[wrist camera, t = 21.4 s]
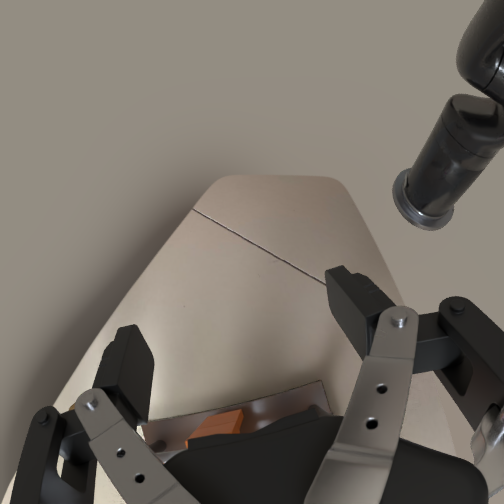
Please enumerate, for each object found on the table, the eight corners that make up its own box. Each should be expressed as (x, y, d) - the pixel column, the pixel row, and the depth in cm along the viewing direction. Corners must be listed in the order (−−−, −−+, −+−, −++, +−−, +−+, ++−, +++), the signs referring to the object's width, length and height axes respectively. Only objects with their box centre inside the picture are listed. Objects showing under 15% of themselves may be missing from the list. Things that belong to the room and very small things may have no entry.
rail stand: (319, 379, 37) (337, 382, 27) (334, 428, 34) (356, 446, 24) (143, 421, 35) (105, 433, 25) (157, 468, 33) (124, 492, 23)
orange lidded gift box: (241, 408, 32) (231, 432, 22) (255, 451, 30) (251, 489, 20) (207, 416, 32) (184, 441, 21) (221, 458, 30) (204, 497, 20)
